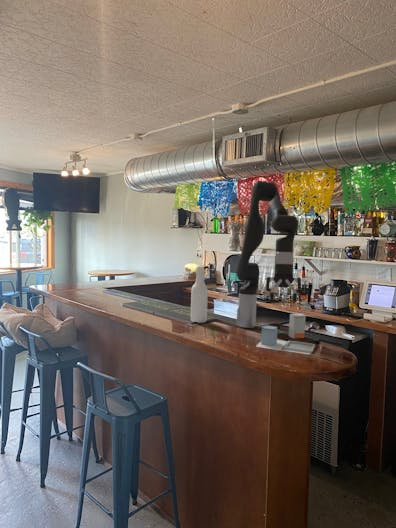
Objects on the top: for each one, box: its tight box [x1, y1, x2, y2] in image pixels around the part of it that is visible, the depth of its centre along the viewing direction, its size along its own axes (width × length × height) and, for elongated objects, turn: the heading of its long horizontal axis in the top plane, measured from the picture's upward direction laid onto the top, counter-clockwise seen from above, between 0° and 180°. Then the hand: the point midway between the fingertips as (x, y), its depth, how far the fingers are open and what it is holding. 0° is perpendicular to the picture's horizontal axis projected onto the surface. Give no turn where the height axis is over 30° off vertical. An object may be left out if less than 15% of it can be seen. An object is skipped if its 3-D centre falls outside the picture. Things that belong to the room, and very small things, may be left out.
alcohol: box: [190, 265, 209, 324], centre depth 214 cm, size 9×9×30 cm
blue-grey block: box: [260, 325, 278, 346], centre depth 170 cm, size 6×6×7 cm
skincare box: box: [288, 313, 307, 339], centre depth 183 cm, size 6×4×12 cm
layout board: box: [255, 339, 316, 356], centre depth 168 cm, size 23×15×6 cm, turn 67°
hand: (283, 302), depth 165 cm, fingers open, 8 cm apart
